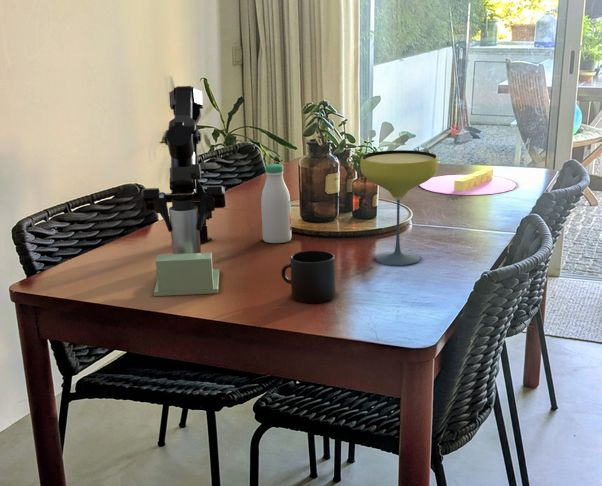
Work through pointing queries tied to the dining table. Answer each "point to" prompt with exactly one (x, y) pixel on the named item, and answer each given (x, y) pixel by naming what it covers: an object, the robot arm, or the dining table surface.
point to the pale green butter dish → (186, 274)
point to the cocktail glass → (398, 185)
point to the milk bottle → (275, 207)
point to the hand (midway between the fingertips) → (184, 230)
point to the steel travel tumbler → (184, 226)
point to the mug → (311, 276)
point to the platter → (469, 184)
